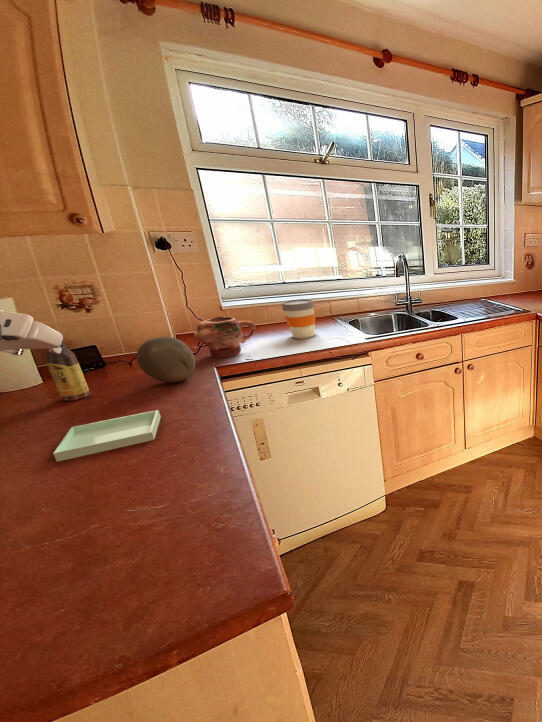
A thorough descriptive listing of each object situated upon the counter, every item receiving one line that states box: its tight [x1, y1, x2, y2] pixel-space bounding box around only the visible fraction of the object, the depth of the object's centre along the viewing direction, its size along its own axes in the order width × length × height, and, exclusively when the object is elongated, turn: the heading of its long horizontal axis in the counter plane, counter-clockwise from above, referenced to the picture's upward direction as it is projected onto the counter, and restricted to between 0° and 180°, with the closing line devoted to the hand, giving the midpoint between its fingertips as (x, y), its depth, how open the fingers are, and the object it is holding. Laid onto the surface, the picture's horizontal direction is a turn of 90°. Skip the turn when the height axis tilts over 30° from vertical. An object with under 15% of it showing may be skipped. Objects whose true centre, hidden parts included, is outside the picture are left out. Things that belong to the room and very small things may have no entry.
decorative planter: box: [193, 316, 256, 358], centre depth 162 cm, size 20×12×14 cm, turn 133°
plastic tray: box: [52, 409, 162, 463], centre depth 102 cm, size 17×15×2 cm
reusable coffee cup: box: [281, 298, 316, 339], centre depth 186 cm, size 13×13×15 cm
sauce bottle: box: [45, 331, 91, 402], centre depth 122 cm, size 7×6×20 cm
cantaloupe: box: [136, 336, 196, 384], centre depth 134 cm, size 14×14×15 cm
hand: (39, 352), depth 116 cm, fingers open, 8 cm apart
